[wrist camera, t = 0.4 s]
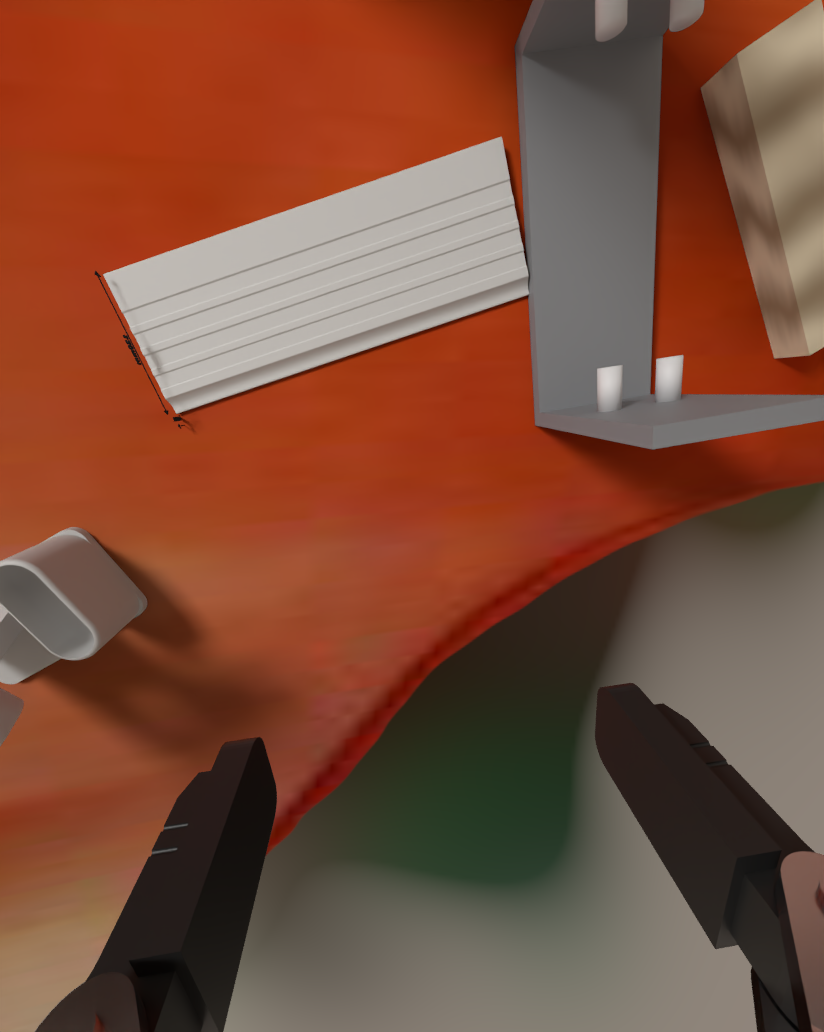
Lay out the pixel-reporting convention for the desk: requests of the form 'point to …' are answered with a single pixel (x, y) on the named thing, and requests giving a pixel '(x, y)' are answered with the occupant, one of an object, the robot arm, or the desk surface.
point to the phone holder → (58, 609)
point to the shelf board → (778, 172)
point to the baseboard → (326, 278)
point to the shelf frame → (608, 230)
